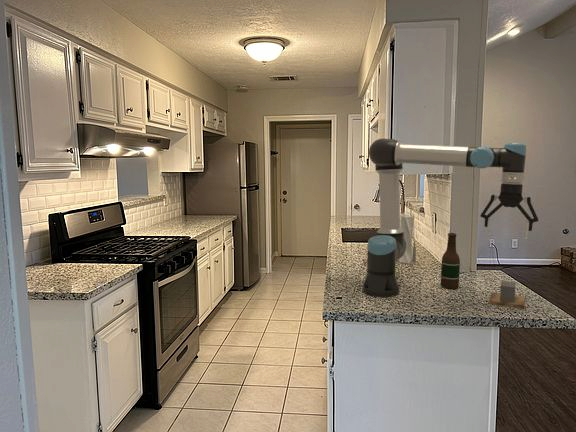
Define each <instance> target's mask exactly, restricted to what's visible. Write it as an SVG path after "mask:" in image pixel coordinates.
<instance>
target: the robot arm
mask: <svg viewBox="0 0 576 432" xmlns="http://www.w3.org/2000/svg"><path fill="white" fill-rule="evenodd" d="M526 155H527V145H526V144H525V143H523V142H506V143H505V144H504V146H503V147H499V148H498V147H486V146H485V147H484V146H460V145H459V146H458V145H457V146H455V145H435V144H434V145H432V144H431V145H430V144H413V143H412V144H411V143H409V144H408V143H407V144H406V143H402V141H400V140H399V141H398V140H396V139H394V138H384V137H383V138H378V139H376V140H374V141H373V142H372V143H371V144H370V146H369V149H368V156H369V159H370V161H371V162H372V163H373V164H374V165H375V166H374V167H375V168H374V169H375V172H376V173H377V174H378V175H379V176H378V177H379V180H378V182H379V187H378V189H379V221H380V222H379V225H380V227H379V229H378V230H377V231H376V235H374V236H371V237H370V238H369V239H368V241H367V261H366V263H367V264H366V265H367V267H366V268H367V269H366V270H367V271H366V275H365V278H364V281H363V284H362V292H363V294H366V295H367V296H368V295H369V296H372V297H379V298H389V297H391V298H392V297H395V296H397V295H398V294H399V293H400V287H399V283H398V280H397V276H396V262H397V261H399V258H401V257H402V256H403V255H404V253H405V251H406V241H405V239H404V231H403V230H402V229H401V228H400V215H401V212H400V211H401V207H400V199H401V198H400V197H401V196H400V173H401V172H402V171H403V164H413V165H415V164H416V165H430V166H432V165H433V166H444V167H445V166H447V167H464V168H474V169H475V168H476V169H486V168H502V171H501V172H502V173H501V180H500V181H501V182H502V183H501V184H500V190H499V191H500V192H499V195H495V194H491V196H490V199H489V201H488V203H487V205H486V206H485V208H484V209H483V210H482V212H481V213H480V218H483V219H484V227H485V228H486V237H489V236H490V231H491V229H490V228H491V217H492V215H494V214H495V213H496V212H498V210H500V208H502V207H505V208H517V209H518V210H519V211H520V212H521V214H522V215H523V217H525V218H526V220H527V221H526V229H525V241H526V240H528V239H529V238H528V237H529V232H532V230H533V223H536V222H537V223H538V222H539V218H538V215H537V214H536V210H535V209H534V207H533V204H532V202H531V201H532V199H531V196H523V187H524V186H523V184H522V183H524V175H525V166H526V165H525V164H526ZM497 199H498V200H499V201H500V202H499V204H497V205H496V206H495V207H494V208H493V209H492V210H490V211H489V213H488V214H487V215H486V213H487V212H488V210H489V209H490V207H491V206H492V204H493V203H494V202H495V201H496V200H497ZM522 201H523V202H525V204H526V203H527V206H528V209H529V211H530V214H531V215H532V217H533V218H532V217H531V216H530V215H529V213H528V212H527V211H526V210H525V209H524V208H523V207H524V206H522V205H521V203H522Z"/></svg>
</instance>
